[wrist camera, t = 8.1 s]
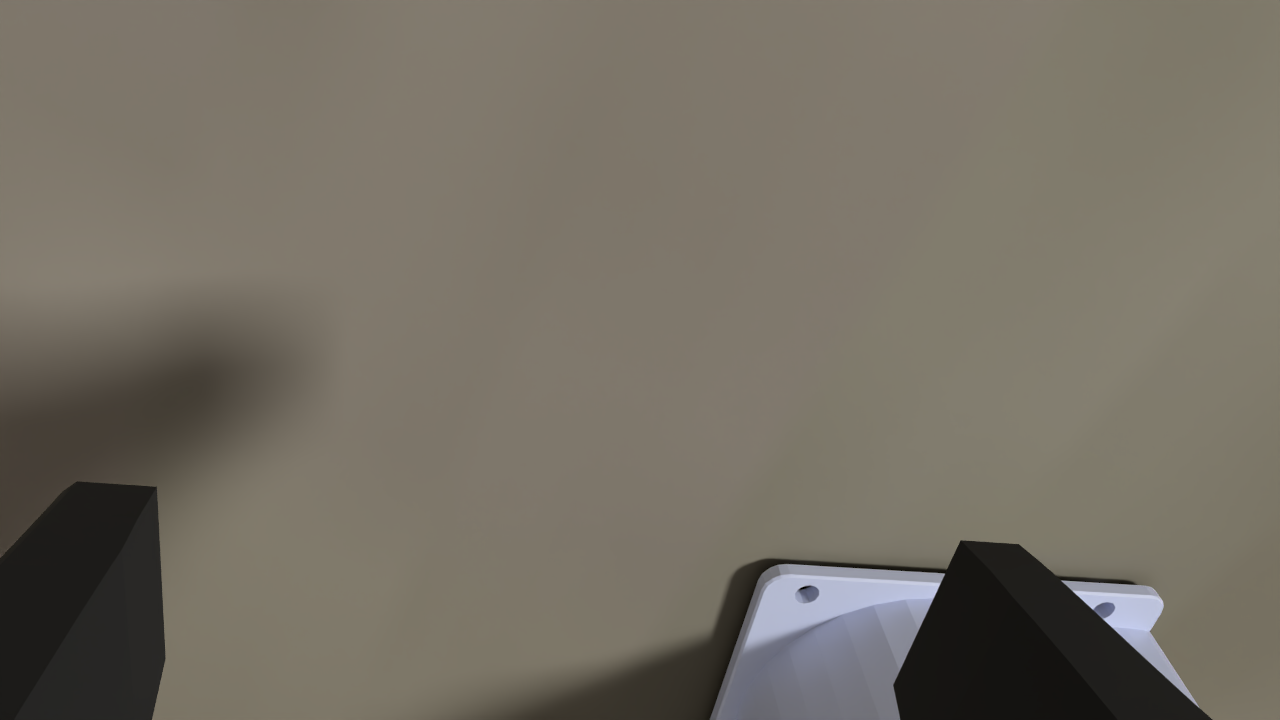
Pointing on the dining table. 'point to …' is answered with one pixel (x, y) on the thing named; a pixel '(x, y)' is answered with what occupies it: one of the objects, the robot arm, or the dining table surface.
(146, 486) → the robot arm
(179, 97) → the dining table surface
